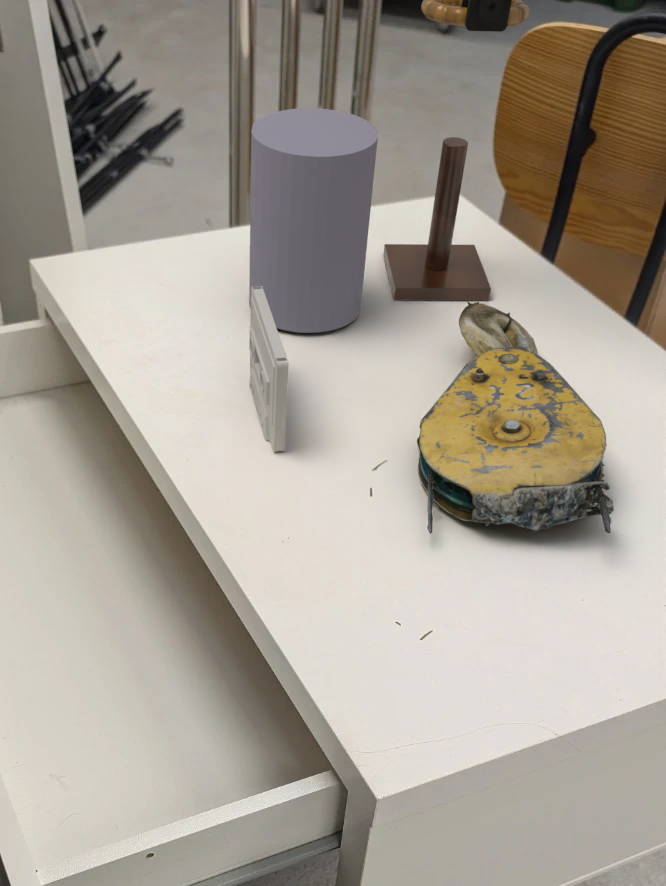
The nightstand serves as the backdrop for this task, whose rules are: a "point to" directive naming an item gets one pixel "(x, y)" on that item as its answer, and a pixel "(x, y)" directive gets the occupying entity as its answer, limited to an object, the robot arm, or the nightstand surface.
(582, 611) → the nightstand surface
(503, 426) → the pulley block
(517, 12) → the ring
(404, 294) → the peg stand
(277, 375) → the cassette
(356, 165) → the container
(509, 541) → the nightstand surface
